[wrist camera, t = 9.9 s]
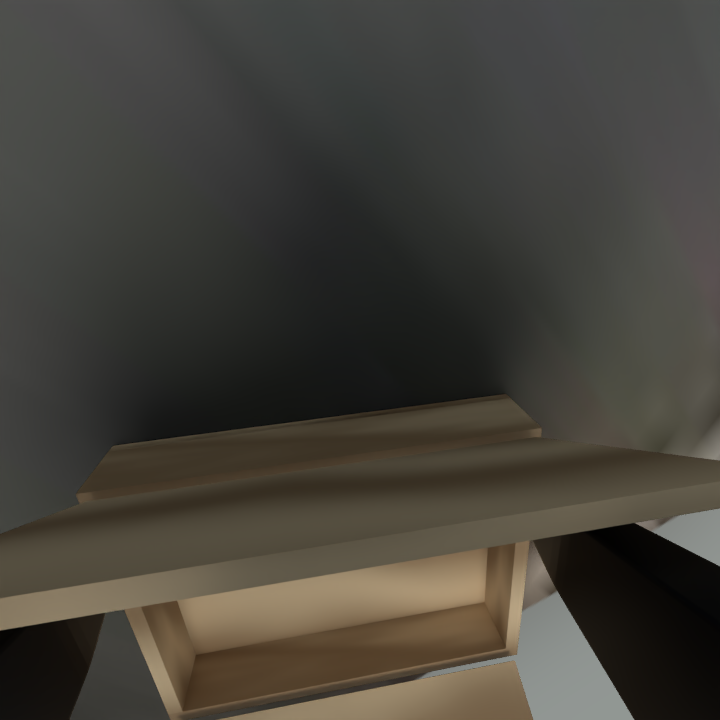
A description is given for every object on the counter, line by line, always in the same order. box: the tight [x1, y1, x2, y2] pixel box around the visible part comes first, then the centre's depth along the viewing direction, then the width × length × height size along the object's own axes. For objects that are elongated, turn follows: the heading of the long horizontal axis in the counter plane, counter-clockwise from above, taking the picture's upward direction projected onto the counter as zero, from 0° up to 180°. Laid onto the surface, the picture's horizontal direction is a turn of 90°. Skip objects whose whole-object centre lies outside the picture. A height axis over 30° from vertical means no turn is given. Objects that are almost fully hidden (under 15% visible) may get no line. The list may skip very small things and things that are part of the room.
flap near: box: [0, 437, 720, 630], centre depth 10 cm, size 8×15×1 cm
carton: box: [76, 394, 542, 720], centre depth 18 cm, size 13×16×3 cm
